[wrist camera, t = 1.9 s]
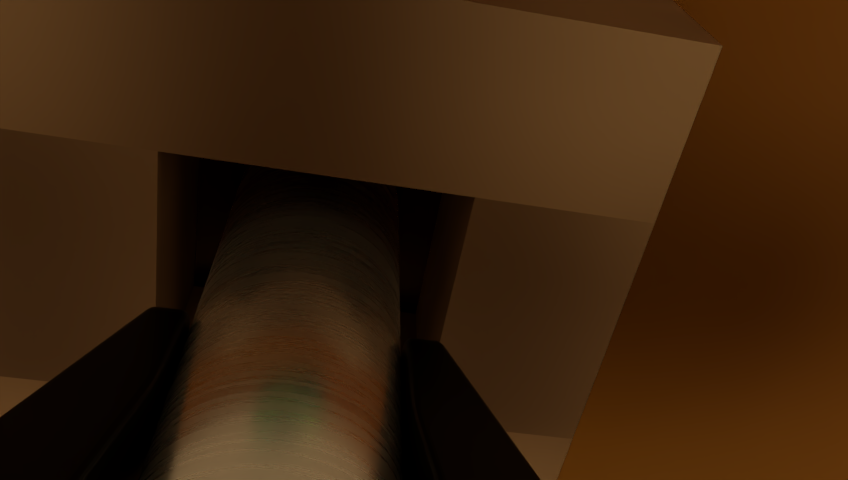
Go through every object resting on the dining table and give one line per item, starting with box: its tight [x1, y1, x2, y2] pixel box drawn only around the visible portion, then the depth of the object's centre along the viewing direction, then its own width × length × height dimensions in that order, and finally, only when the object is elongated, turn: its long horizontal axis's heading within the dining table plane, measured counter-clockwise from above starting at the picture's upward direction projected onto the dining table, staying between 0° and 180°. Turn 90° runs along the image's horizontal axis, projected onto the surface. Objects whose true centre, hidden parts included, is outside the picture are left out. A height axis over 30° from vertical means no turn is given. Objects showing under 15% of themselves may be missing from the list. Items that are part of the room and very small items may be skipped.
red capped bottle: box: [138, 165, 403, 480], centre depth 8 cm, size 3×3×9 cm
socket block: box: [0, 0, 722, 480], centre depth 11 cm, size 8×8×2 cm
